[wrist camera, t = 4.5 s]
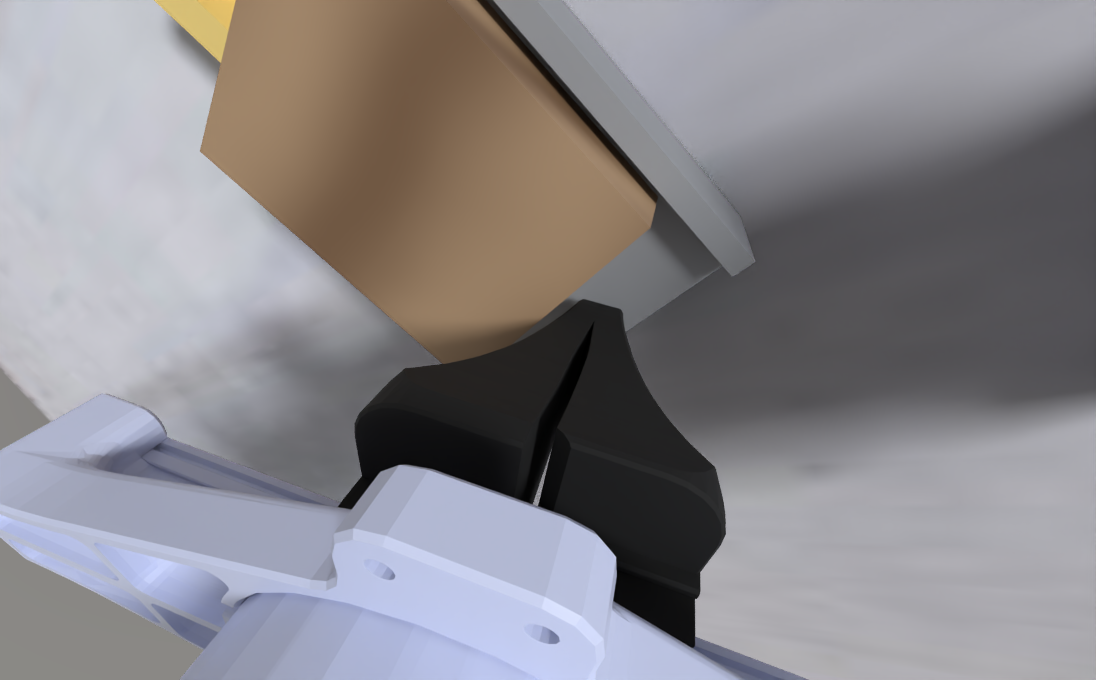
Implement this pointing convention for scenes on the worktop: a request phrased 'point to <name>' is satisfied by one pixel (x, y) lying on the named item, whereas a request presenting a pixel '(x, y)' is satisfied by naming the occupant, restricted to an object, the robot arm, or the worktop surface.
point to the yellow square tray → (203, 21)
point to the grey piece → (655, 154)
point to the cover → (423, 161)
